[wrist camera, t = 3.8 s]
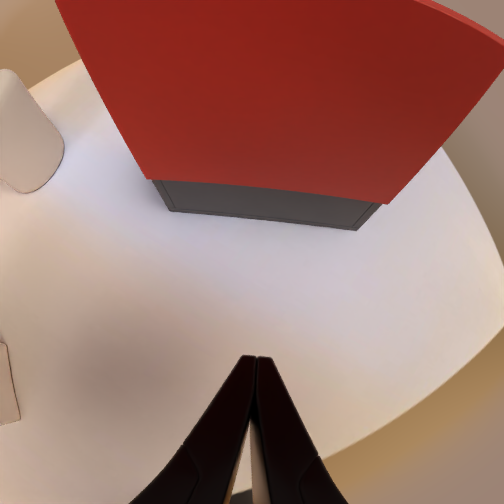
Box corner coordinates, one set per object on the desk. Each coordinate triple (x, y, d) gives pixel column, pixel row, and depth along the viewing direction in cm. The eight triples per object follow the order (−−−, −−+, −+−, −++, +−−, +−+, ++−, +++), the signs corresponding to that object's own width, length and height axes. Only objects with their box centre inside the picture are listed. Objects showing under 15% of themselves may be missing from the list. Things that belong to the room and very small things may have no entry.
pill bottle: (54, 192, 24) (-40, 103, 10) (5, 197, 24) (-80, 129, 10) (75, 128, 27) (12, 31, 12) (27, 138, 26) (-38, 62, 12)
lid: (65, -10, 5) (53, 0, 5) (505, 40, 5) (515, 53, 5) (149, 169, 18) (146, 179, 18) (386, 193, 18) (387, 204, 18)
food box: (197, 101, 27) (190, 59, 22) (349, 117, 27) (366, 78, 21) (169, 211, 24) (149, 177, 18) (357, 231, 24) (384, 202, 18)
